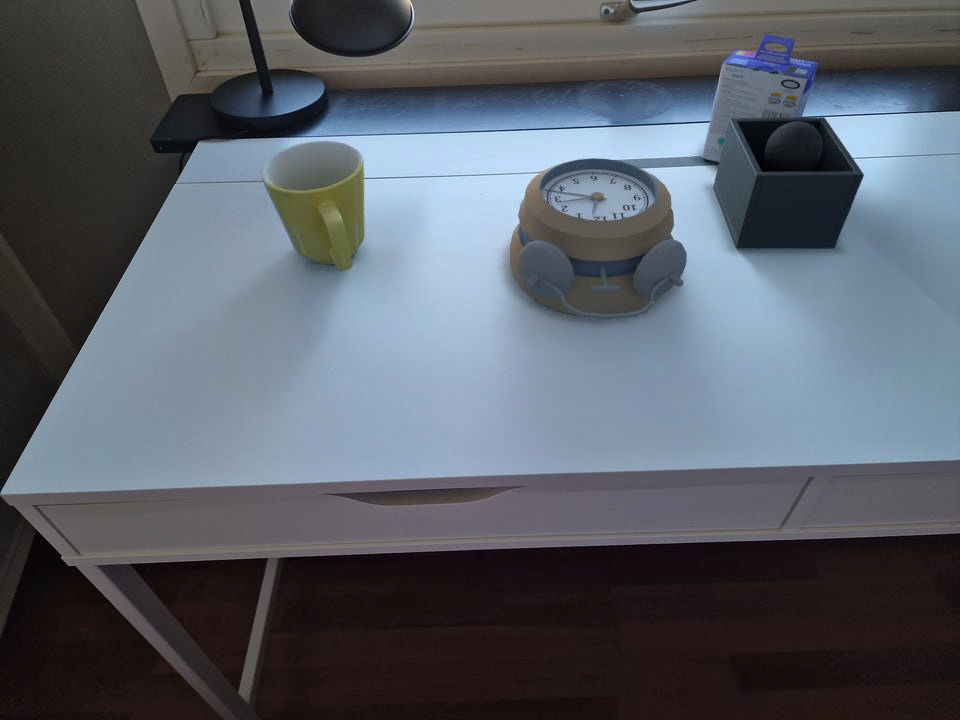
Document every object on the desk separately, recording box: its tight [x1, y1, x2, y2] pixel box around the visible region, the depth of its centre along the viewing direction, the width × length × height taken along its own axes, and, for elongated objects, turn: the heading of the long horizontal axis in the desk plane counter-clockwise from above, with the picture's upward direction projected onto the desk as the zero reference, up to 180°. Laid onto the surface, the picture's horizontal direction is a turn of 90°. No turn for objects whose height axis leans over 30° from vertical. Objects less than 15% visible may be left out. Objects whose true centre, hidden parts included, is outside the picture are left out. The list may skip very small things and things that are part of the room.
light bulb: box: [765, 122, 823, 172], centre depth 75 cm, size 6×6×10 cm
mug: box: [260, 140, 366, 272], centre depth 71 cm, size 14×10×10 cm
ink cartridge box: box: [701, 33, 819, 163], centre depth 82 cm, size 10×6×14 cm, turn 58°
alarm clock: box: [509, 157, 688, 320], centre depth 68 cm, size 17×9×23 cm
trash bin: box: [712, 116, 865, 249], centre depth 75 cm, size 10×12×9 cm
